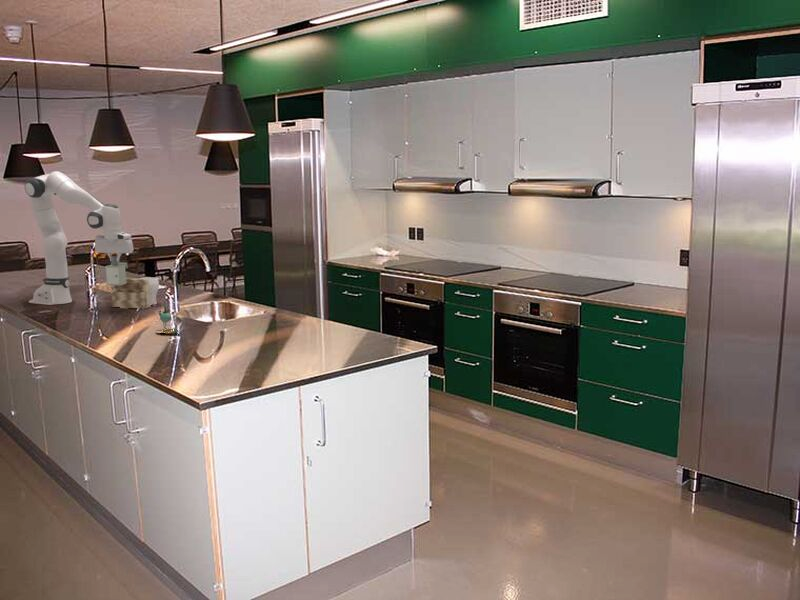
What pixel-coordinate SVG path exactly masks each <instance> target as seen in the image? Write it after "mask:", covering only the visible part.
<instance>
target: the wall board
mask: <svg viewBox="0 0 800 600" xmlns="http://www.w3.org/2000/svg"><path fill="white" fill-rule="evenodd" d="M111 300H112V303H111V305H112V308H113V307H120V308H119V309H128V308H145V307H149V306H151V305H149V284H148V279H140V278H130V277H129V278H128V277H126V284H123V285H112V291H111ZM151 307H152V306H151Z"/></svg>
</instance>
